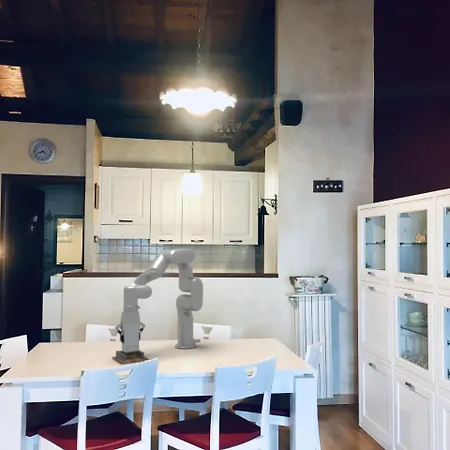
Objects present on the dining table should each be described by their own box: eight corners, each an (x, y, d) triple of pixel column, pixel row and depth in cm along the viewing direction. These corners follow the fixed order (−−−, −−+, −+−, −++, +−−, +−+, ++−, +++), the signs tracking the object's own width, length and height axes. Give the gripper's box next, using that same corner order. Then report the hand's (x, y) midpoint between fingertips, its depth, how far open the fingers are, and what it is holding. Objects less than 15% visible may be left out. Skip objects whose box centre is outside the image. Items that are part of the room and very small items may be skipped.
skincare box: (135, 349, 250) (136, 321, 251) (139, 351, 245) (139, 323, 245) (120, 350, 246) (121, 323, 246) (124, 353, 240) (124, 324, 241)
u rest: (138, 355, 255) (138, 347, 255) (148, 360, 242) (148, 353, 243) (112, 358, 247) (112, 351, 248) (121, 364, 235) (121, 356, 235)
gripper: (143, 307, 254) (142, 338, 253) (112, 309, 245) (112, 342, 244) (148, 308, 248) (148, 340, 247) (117, 310, 239) (116, 344, 238)
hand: (130, 341), depth 245 cm, fingers closed on skincare box, 8 cm apart
